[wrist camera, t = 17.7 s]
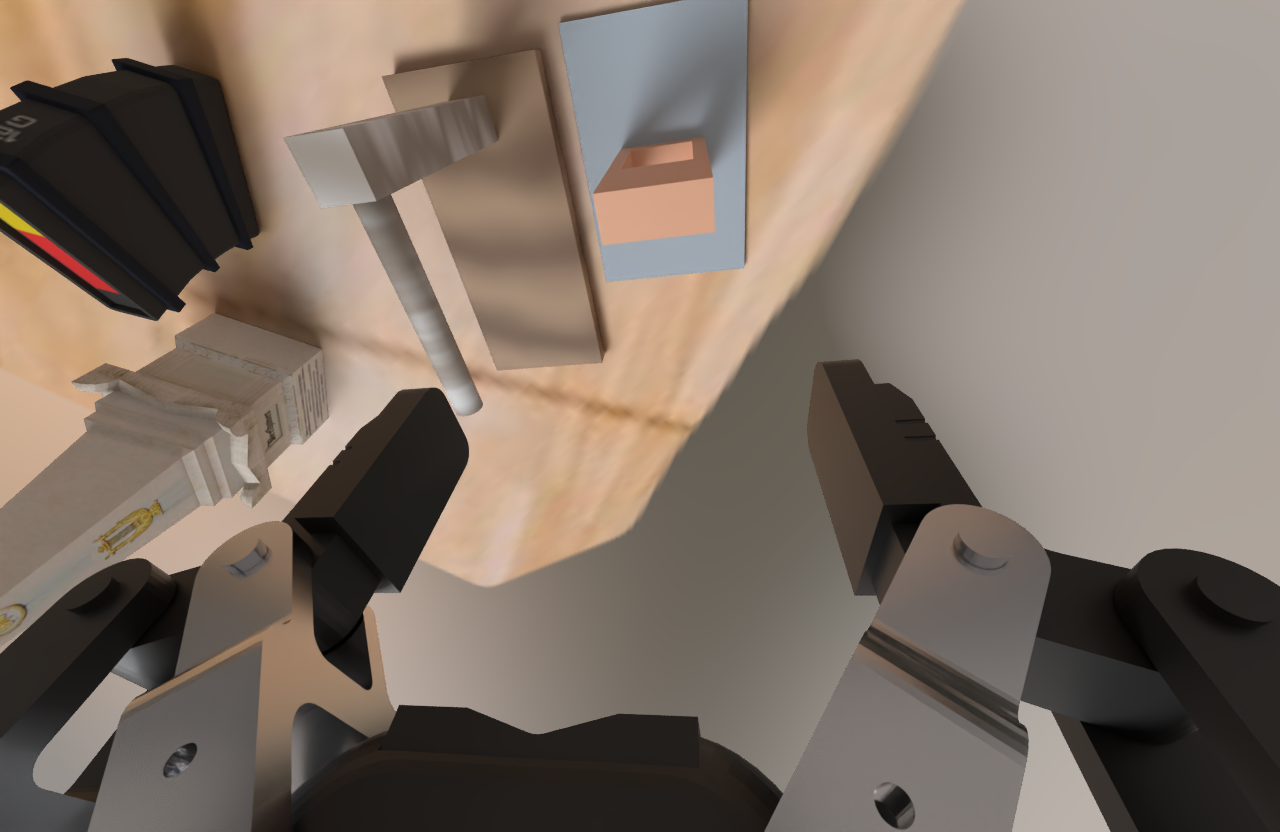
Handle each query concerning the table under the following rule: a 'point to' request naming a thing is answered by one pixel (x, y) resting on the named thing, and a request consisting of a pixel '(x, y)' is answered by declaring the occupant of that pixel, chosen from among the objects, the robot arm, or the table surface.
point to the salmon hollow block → (656, 193)
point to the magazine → (125, 182)
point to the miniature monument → (157, 456)
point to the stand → (470, 210)
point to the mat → (665, 115)
